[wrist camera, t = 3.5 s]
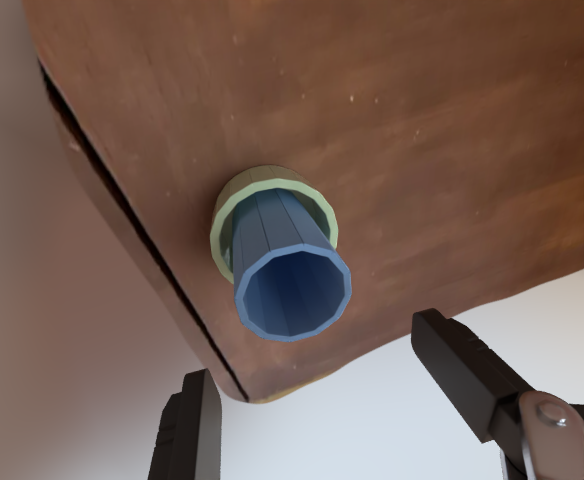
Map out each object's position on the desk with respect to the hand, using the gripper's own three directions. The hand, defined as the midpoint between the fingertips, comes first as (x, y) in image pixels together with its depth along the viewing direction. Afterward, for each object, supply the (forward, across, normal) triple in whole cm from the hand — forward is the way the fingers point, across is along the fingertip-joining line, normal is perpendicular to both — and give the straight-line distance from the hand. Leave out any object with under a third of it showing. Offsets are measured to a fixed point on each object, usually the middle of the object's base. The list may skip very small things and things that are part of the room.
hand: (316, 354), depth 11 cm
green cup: (+14, 0, 0) cm, 14 cm away
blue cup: (+14, 0, 0) cm, 14 cm away
